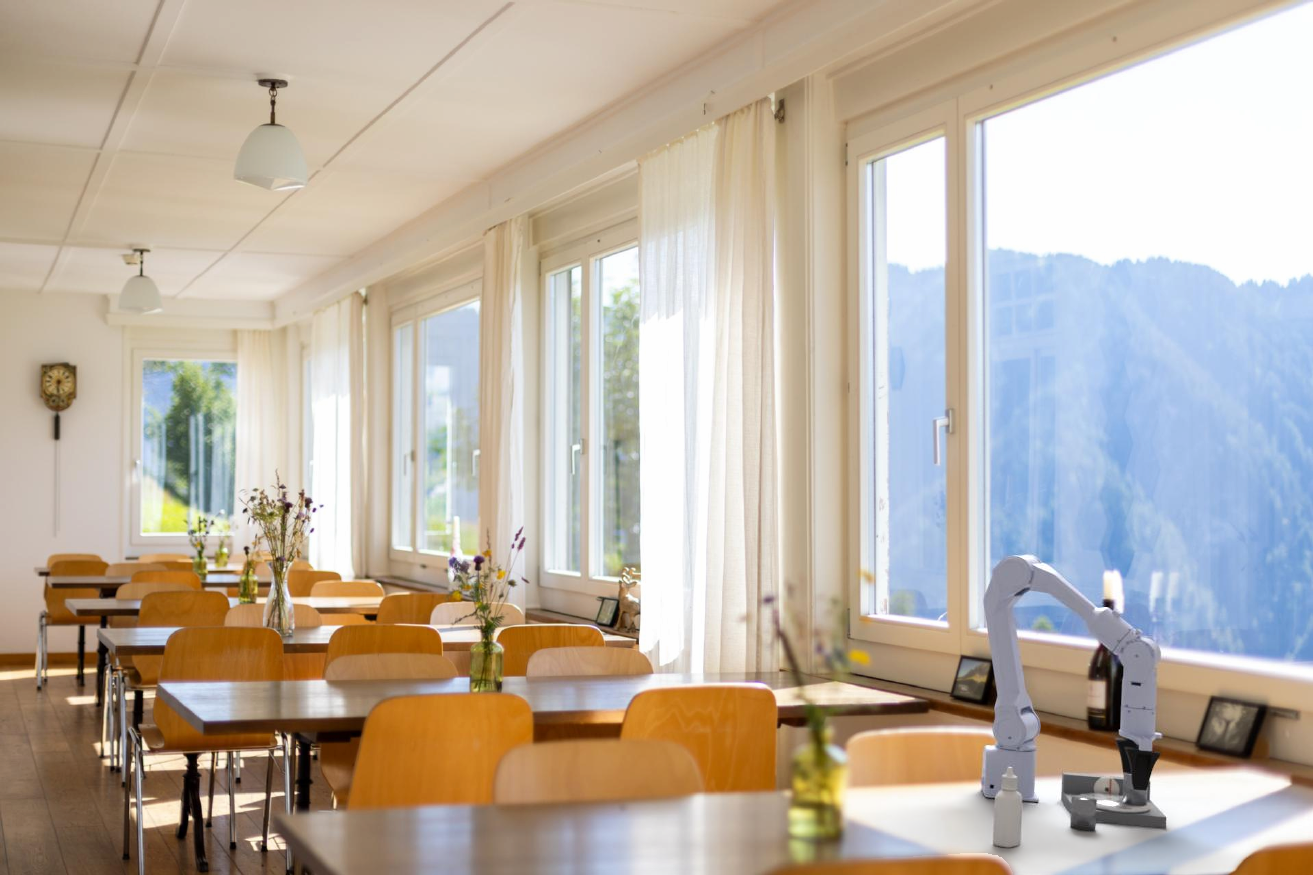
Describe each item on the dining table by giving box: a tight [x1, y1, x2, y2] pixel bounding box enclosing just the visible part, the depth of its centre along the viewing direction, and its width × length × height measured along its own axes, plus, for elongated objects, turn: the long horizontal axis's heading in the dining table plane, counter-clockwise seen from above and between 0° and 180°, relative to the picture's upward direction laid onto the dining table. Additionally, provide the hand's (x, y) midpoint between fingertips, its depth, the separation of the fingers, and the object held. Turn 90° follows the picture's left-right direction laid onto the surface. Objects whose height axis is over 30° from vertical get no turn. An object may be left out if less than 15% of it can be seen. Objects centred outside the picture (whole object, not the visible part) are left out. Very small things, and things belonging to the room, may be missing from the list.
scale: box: [1060, 771, 1167, 829], centre depth 230 cm, size 15×15×5 cm
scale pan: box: [1081, 793, 1150, 814], centre depth 229 cm, size 12×12×1 cm
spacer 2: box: [1123, 772, 1148, 806], centre depth 228 cm, size 4×4×5 cm
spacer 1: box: [1069, 795, 1097, 833], centre depth 219 cm, size 4×4×5 cm
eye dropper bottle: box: [992, 767, 1023, 849], centre depth 206 cm, size 4×6×12 cm
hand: (1135, 784), depth 228 cm, fingers open, 7 cm apart
